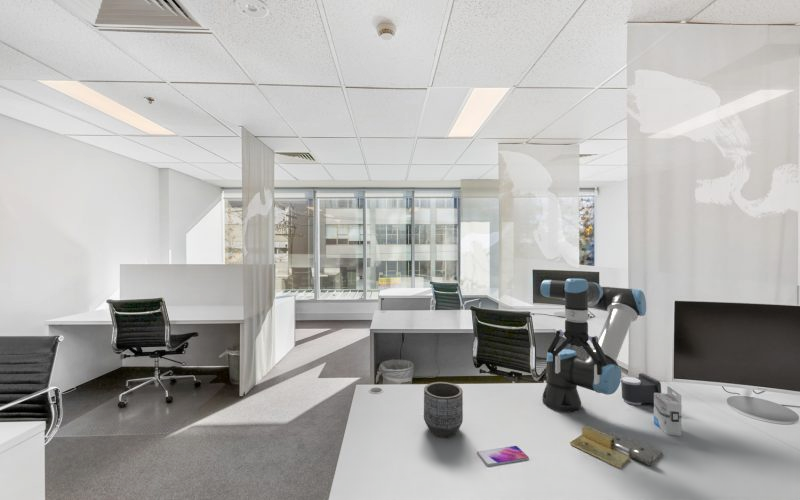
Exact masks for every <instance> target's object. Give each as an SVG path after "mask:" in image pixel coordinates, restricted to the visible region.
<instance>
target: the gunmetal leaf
mask: <svg viewBox="0 0 800 500" xmlns="http://www.w3.org/2000/svg"><path fill="white" fill-rule="evenodd" d="M607 434H608V435H610V436H612V437H614V442H612V441H611V445H613V446H614V448H617V449H620V450H621V451H624V452H626V453H628V456H629V457H630V458H632V459H635V460H636V461H639V462H641V463H642V464H643V463H644V464H645V465H647V466H653V465H654V464H655V463H656V462H657V461H658V460H659V459H660V458H661V457H662V456H663V455H664V453H663V451H661V450H658V449H656V448H654V447H652V446H649V445H646V444H644V443H642V442H640V441H638V440H637V441H636V440H634V439H631V438H630V437H627V436H625V435H622V434H620V433H617V432H616V431H609V432H608V433H607Z"/></svg>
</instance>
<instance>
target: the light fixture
mask: <svg viewBox="0 0 800 500" xmlns="http://www.w3.org/2000/svg"><path fill="white" fill-rule="evenodd" d="M620 381H621V382H620V385H621V386H620V387H621V398H622V399H623V402H625V403H627V404H629V405H634V406H641V405H642V404H644V403H645V404H646V403H647V404H648V403H650V404H652V405H653V406H654V393H662V385H661V381H659V380H657V379H655V378H653V377H651V376H649V375H648V374H645V373H641V372H640V373H638V377H632V376H624V377H622V378H621V379H620Z"/></svg>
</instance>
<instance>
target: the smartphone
mask: <svg viewBox="0 0 800 500" xmlns="http://www.w3.org/2000/svg"><path fill="white" fill-rule="evenodd" d="M476 455H477V456H478V457H479V459H481V461H482V462H483V464H484V465H485V466H486V467H493V466H499V465H505V464H511V463H512V464H513V463H517V462H518V463H519V462H523V461H528V460H529V456H528V455H527V454H526V453H525V452H524V451H523V450H522V449H521V448H520V447H518V445H511V446H505V447H497V448H493V449H492V448H491V449H486V450H480V451H476Z"/></svg>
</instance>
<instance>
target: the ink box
mask: <svg viewBox="0 0 800 500" xmlns="http://www.w3.org/2000/svg"><path fill="white" fill-rule="evenodd" d="M666 388H667V389H666V393H662V392H661V393H654V405H653V423H654V424H655V425H656V426H657V427H658V428H659V429H660V430H661V431H662V432H663V433H665V434H666V435H668V436H682V407H683V406H682V394H681V393H679V392H678V391H676V390H674V389H673V388H672V387H671V386H669V385H667V386H666ZM673 393H674V394H673Z"/></svg>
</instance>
